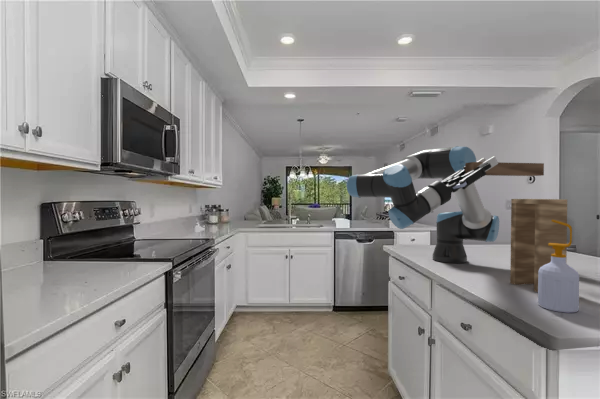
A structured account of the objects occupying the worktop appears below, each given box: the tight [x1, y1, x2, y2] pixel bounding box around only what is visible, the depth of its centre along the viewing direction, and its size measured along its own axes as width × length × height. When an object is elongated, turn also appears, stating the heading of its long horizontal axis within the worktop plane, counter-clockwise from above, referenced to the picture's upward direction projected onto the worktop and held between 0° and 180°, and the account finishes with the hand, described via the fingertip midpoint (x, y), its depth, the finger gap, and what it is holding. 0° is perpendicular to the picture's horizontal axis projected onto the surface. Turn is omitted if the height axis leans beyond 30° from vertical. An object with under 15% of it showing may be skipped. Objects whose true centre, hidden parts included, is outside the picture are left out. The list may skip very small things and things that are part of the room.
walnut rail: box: [465, 161, 545, 177], centre depth 113 cm, size 4×26×4 cm, turn 100°
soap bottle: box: [537, 219, 580, 314], centre depth 95 cm, size 9×9×25 cm
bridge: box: [509, 198, 568, 293], centre depth 116 cm, size 12×10×30 cm
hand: (490, 160), depth 112 cm, fingers closed on walnut rail, 4 cm apart
